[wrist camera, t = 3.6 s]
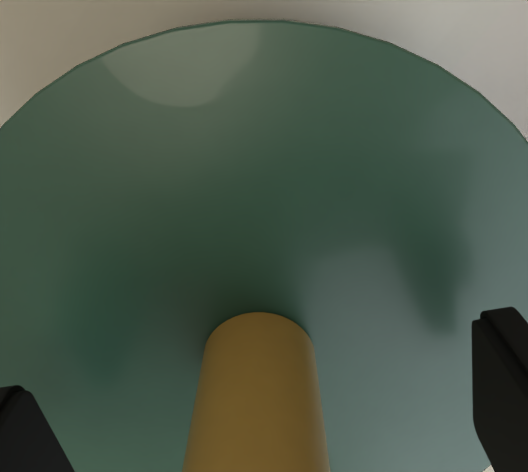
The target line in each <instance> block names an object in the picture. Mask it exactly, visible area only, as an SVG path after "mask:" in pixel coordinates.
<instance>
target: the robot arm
mask: <svg viewBox="0 0 528 472" xmlns="http://www.w3.org/2000/svg"><path fill="white" fill-rule="evenodd" d="M471 328H472V396H473V423H474V427H475V431H476V434H477V436H478V438H479V441H480V443H481V445H482V447H483V449H484V451H485V453H486V455H487V457H488V459H489V461H490V463H491V465H492V467H493V469H494V471H495V472H528V323H527V321H526V320H525V319H524V318H523V316H522V315H521V314H520V313H519V312H518V310H517V309H515V308H514V307H512V306H511V307H505V308H498V309H492V310H486V311H482V312H481V314H480V319H477V320H473V321H472V326H471ZM0 472H75V471H74V469H73V467H72V465H71V463H70V462H69V460H68V458H67V456H66V454H65V453H64V451H63V449H62V447H61V445H60V443H59V442H58V440H57V438H56V436H55V434H54V432H53V431H52V429H51V427H50V425H49V423H48V422H47V420H46V418H45V416H44V414H43V412H42V411H41V409H40V407H39V405H38V403H37V401H36V400H35V398H34V396H33V394H32V393H31V392H30V391H26V390H25V389H24V388H23V387H22V386H20V385H13V386H7V387H0Z"/></svg>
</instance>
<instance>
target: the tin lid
mask: <svg viewBox="0 0 528 472" xmlns="http://www.w3.org/2000/svg"><path fill="white" fill-rule="evenodd" d="M511 306H512V307H514V308H515V309H517V310H518V312H519V313H520V314H521V315H522V316H523V318H524V319H525V320H526V321H527V323H528V142H527V140H526V139H525V138H524V137H523V135H522V134H521V133H520V131H519V130H518V129H517V128H516V126H515V125H514V124H513V123H512V122H511V121H510V120H509V119H508V118H507V117H506V116H504V115H503V114H502V113H501V112H500V111H499V110H498V109H497V108H496V107H495V106H494V105H493V104H491V103H490V102H489V101H488V100H487V99H486V98H485V97H484V96H483V95H482V94H481V93H480V92H478V91H477V90H475V89H474V88H472V87H471V86H469V85H468V84H466V83H465V82H463V81H462V80H460V79H459V78H457V77H456V76H454V75H453V74H451V73H450V72H448V71H447V70H445V69H444V68H442V67H441V66H439V65H437V64H435V63H433V62H431V61H429V60H426V59H424V58H422V57H420V56H418V55H416V54H414V53H411V52H409V51H407V50H405V49H403V48H401V47H398V46H396V45H394V44H392V43H389V42H386V41H383V40H380V39H376V38H373V37H369V36H366V35H363V34H359V33H356V32H352V31H349V30H346V29H342V28H339V27H335V26H328V25H321V24H314V23H307V22H299V21H292V20H285V19H230V20H223V21H216V22H209V23H203V24H196V25H189V26H182V27H177V28H173V29H170V30H166V31H163V32H160V33H157V34H153V35H150V36H147V37H143V38H140V39H137V40H133V41H130V42H127V43H123V44H121V45H119V46H117V47H115V48H113V49H111V50H109V51H106V52H104V53H102V54H100V55H98V56H96V57H94V58H92V59H90V60H88V61H85V62H83V63H81V64H79V65H77V66H75V67H74V68H72V69H71V70H70V71H68V72H67V73H65V74H64V75H62V76H61V77H59V78H58V79H56V80H55V81H53V82H52V83H50V84H49V85H48V86H46V87H45V88H43V89H42V90H40V91H39V92H37V93H36V94H35V95H34V96H33V97H32V98H31V99H30V100H29V101H28V102H26V103H25V104H24V105H23V106H22V107H21V108H20V109H19V110H18V111H17V112H16V113H15V114H14V115H13V116H12V117H11V118H10V119H9V120H8V121H6V122H5V123H4V124H3V125H2V127H1V128H0V387H7V386H13V385H20V386H22V387H23V388H24V389H25V390H26V391H30V392H31V393H32V394H33V396H34V398H35V400H36V401H37V403H38V405H39V407H40V409H41V411H42V412H43V414H44V416H45V418H46V420H47V422H48V423H49V425H50V427H51V429H52V431H53V432H54V434H55V436H56V438H57V440H58V442H59V443H60V445H61V447H62V449H63V451H64V453H65V454H66V456H67V458H68V460H69V462H70V463H71V465H72V467H73V469H74V471H75V472H483V471H484V470H485V469H486V468H487V467H489V466H490V465H491V463H490V461H489V459H488V457H487V455H486V453H485V451H484V449H483V447H482V445H481V443H480V441H479V438H478V436H477V434H476V431H475V427H474V423H473V396H472V328H471V326H472V321H473V320H477V319H480V314H481V312H482V311H486V310H492V309H498V308H505V307H511Z"/></svg>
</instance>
